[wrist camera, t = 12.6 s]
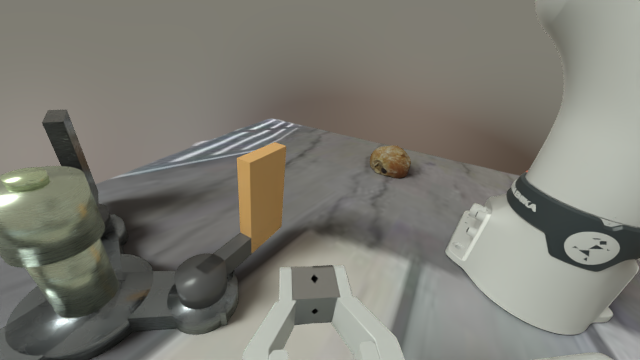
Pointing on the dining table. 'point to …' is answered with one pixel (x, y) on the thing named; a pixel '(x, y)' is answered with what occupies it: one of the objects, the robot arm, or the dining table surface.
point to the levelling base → (82, 265)
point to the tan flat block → (255, 226)
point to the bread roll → (390, 161)
